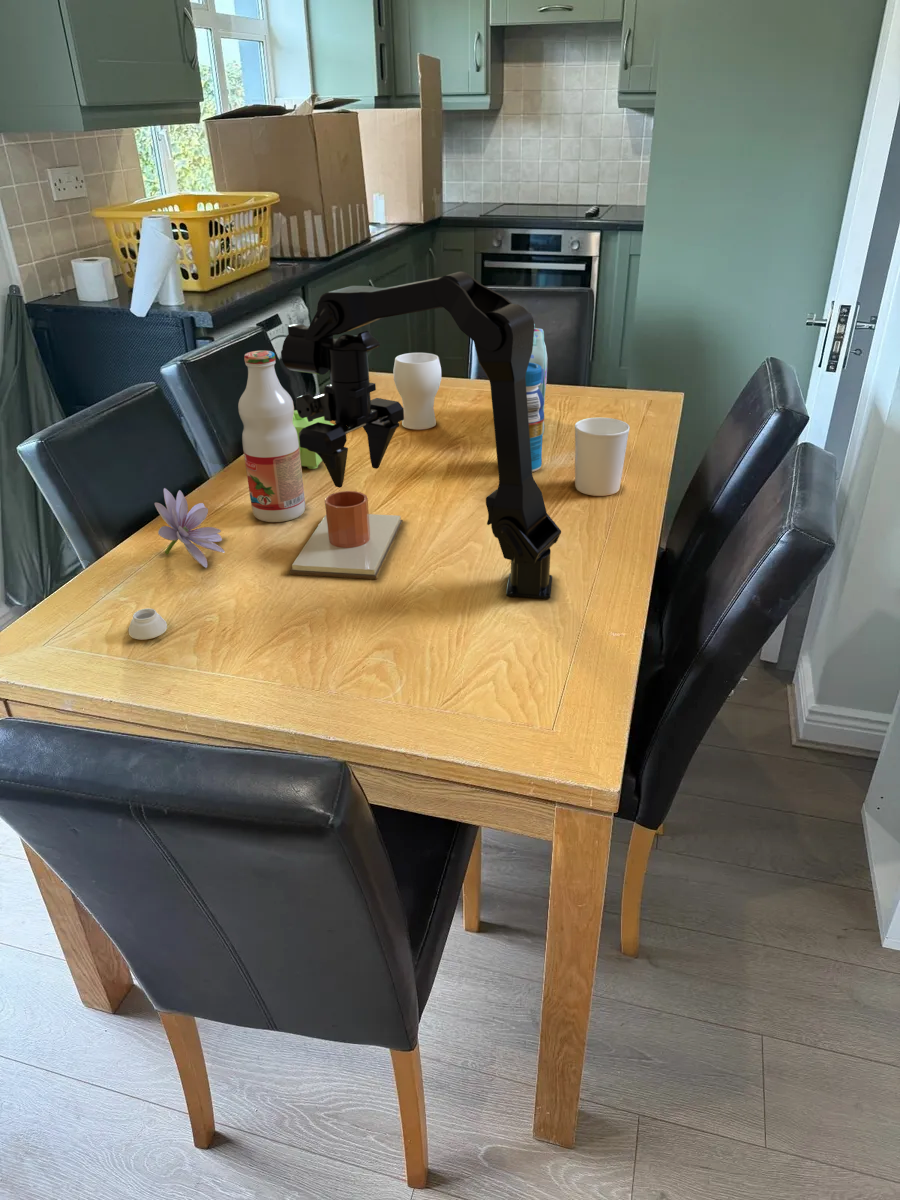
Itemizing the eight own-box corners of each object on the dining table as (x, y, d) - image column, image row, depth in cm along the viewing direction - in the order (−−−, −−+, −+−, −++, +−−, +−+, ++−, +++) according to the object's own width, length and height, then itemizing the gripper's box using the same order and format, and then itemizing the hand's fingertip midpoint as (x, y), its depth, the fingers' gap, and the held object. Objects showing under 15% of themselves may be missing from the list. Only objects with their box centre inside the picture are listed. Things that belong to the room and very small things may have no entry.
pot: (364, 549, 134) (361, 508, 130) (323, 546, 135) (319, 506, 131) (374, 531, 139) (371, 491, 136) (334, 529, 140) (331, 490, 137)
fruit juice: (308, 520, 147) (291, 358, 133) (254, 526, 145) (230, 363, 131) (303, 499, 155) (286, 344, 141) (251, 505, 153) (228, 349, 139)
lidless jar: (156, 618, 119) (123, 632, 116) (152, 600, 117) (118, 614, 114) (174, 632, 116) (140, 646, 113) (170, 613, 114) (135, 627, 111)
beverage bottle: (496, 473, 165) (497, 371, 155) (504, 458, 172) (505, 359, 162) (538, 476, 163) (543, 373, 153) (545, 461, 170) (549, 361, 160)
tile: (376, 579, 128) (375, 570, 127) (290, 574, 130) (289, 565, 129) (403, 522, 146) (402, 514, 145) (326, 519, 148) (326, 511, 147)
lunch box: (497, 408, 201) (498, 315, 190) (540, 408, 201) (543, 315, 190) (497, 446, 178) (499, 343, 167) (546, 446, 178) (551, 343, 167)
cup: (388, 421, 194) (385, 355, 186) (431, 414, 198) (429, 349, 190) (406, 434, 186) (403, 366, 178) (450, 427, 189) (449, 360, 182)
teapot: (287, 480, 163) (281, 427, 158) (255, 461, 173) (248, 411, 167) (354, 462, 171) (350, 410, 166) (320, 445, 181) (315, 396, 175)
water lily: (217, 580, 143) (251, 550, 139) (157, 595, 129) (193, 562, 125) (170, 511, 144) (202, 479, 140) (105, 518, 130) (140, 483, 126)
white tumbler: (588, 474, 164) (592, 413, 158) (633, 485, 159) (639, 424, 153) (560, 489, 157) (564, 427, 151) (606, 502, 152) (612, 438, 146)
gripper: (347, 357, 135) (354, 450, 143) (265, 385, 122) (278, 486, 129) (403, 366, 130) (408, 462, 137) (324, 396, 116) (334, 501, 124)
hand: (357, 477), depth 132 cm, fingers open, 9 cm apart
